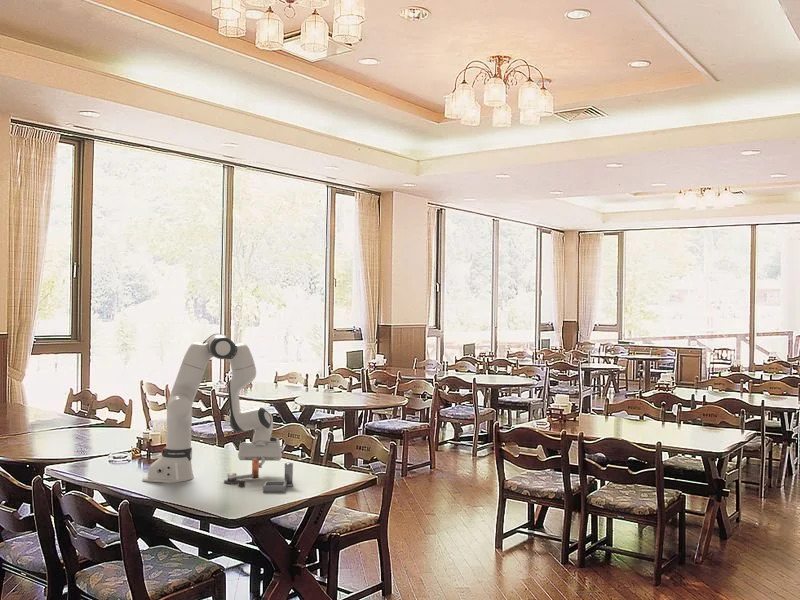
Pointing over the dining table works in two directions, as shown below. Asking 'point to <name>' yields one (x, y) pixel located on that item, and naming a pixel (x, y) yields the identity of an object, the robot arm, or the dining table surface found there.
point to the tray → (275, 486)
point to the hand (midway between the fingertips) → (258, 467)
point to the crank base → (231, 482)
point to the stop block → (241, 483)
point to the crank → (254, 474)
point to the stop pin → (289, 474)
